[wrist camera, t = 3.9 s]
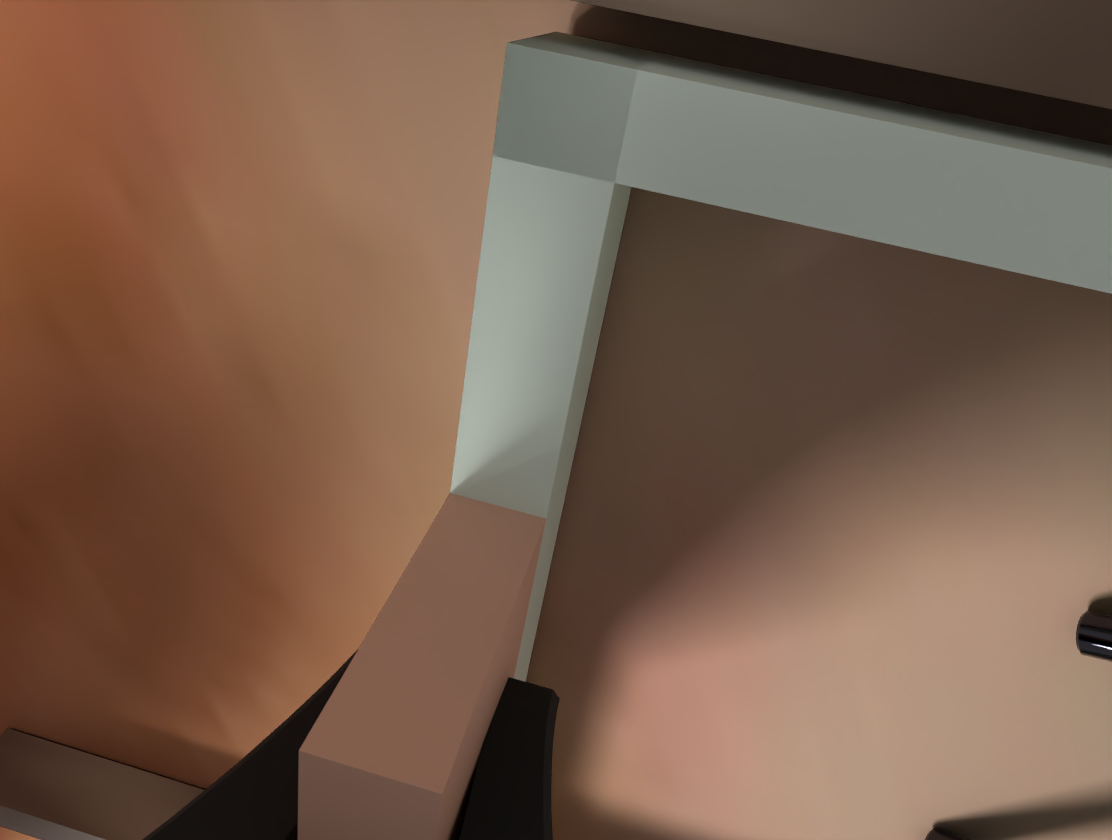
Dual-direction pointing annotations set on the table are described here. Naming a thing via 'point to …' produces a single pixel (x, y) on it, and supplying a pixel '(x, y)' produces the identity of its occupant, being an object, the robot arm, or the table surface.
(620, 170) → the open rectangular frame
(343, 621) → the table surface
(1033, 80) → the guide rails
